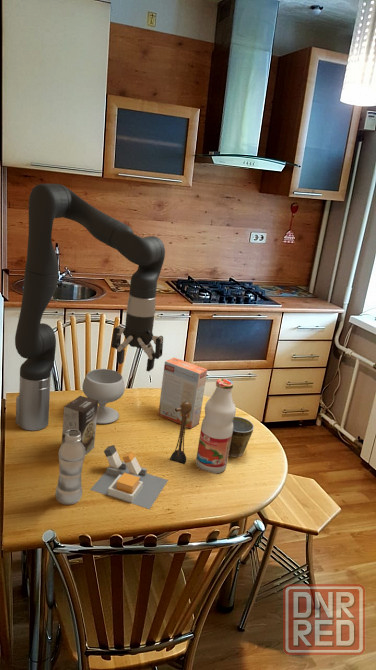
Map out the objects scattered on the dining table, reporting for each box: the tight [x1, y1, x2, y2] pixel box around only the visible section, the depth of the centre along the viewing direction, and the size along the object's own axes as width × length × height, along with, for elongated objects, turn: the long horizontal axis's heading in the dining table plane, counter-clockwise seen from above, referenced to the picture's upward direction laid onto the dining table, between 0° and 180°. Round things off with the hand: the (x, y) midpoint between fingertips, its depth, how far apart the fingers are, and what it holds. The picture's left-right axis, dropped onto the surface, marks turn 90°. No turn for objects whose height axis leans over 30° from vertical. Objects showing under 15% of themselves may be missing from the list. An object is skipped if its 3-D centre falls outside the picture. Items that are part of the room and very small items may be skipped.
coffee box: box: [61, 395, 99, 456], centre depth 152 cm, size 9×6×16 cm
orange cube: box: [116, 473, 140, 494], centre depth 137 cm, size 4×4×4 cm
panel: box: [90, 460, 169, 510], centre depth 141 cm, size 17×14×3 cm
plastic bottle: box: [55, 429, 86, 506], centre depth 130 cm, size 6×7×20 cm
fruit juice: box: [195, 378, 237, 474], centre depth 153 cm, size 9×9×28 cm
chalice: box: [81, 368, 126, 425], centre depth 174 cm, size 14×14×15 cm
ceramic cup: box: [228, 416, 255, 458], centre depth 166 cm, size 13×10×10 cm
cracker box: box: [157, 357, 208, 430], centre depth 178 cm, size 14×6×21 cm, turn 58°
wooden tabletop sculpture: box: [170, 401, 192, 465], centre depth 154 cm, size 6×5×20 cm
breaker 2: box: [122, 450, 142, 475], centre depth 144 cm, size 2×3×6 cm
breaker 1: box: [103, 444, 122, 469], centre depth 145 cm, size 2×3×6 cm
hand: (134, 366), depth 144 cm, fingers open, 8 cm apart
